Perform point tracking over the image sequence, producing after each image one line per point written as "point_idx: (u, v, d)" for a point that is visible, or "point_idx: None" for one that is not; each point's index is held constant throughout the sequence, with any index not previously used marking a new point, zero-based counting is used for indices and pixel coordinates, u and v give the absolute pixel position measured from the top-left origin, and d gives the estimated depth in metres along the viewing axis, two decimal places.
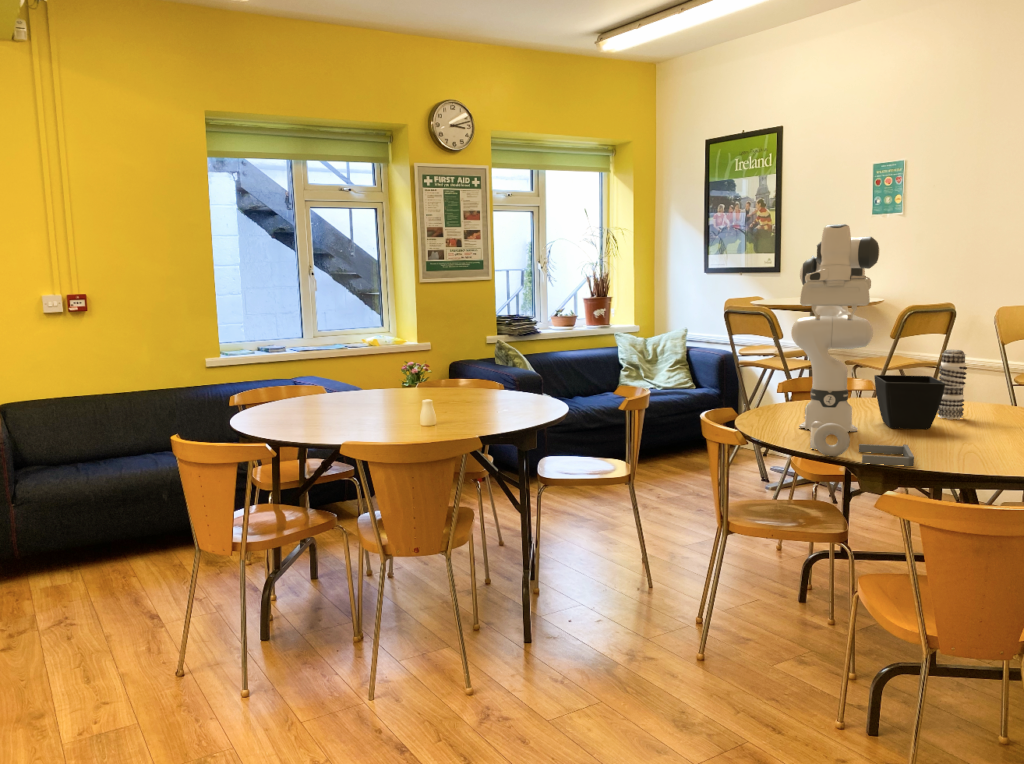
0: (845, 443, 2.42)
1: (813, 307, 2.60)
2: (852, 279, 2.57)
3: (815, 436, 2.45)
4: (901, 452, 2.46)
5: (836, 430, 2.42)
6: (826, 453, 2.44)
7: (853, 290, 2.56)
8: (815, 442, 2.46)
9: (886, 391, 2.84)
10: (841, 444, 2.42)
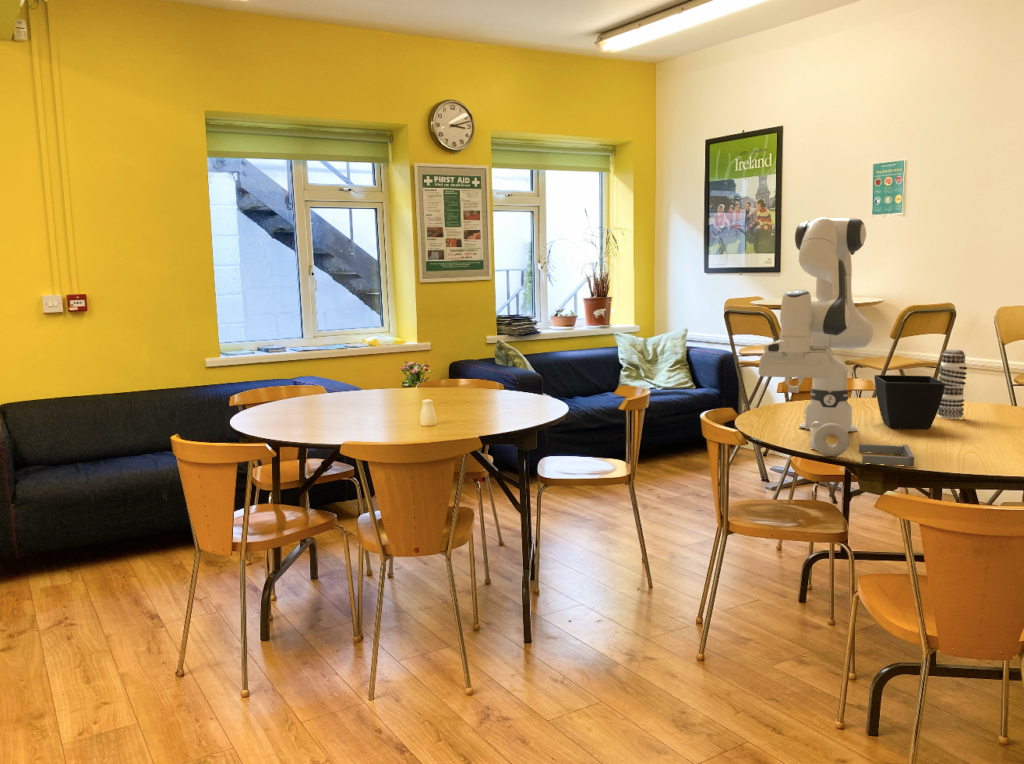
0: (845, 443, 2.42)
1: (786, 379, 2.46)
2: (813, 350, 2.43)
3: (815, 436, 2.45)
4: (901, 452, 2.46)
5: (836, 430, 2.42)
6: (826, 453, 2.44)
7: (813, 363, 2.42)
8: (815, 442, 2.46)
9: (886, 391, 2.84)
10: (841, 444, 2.42)
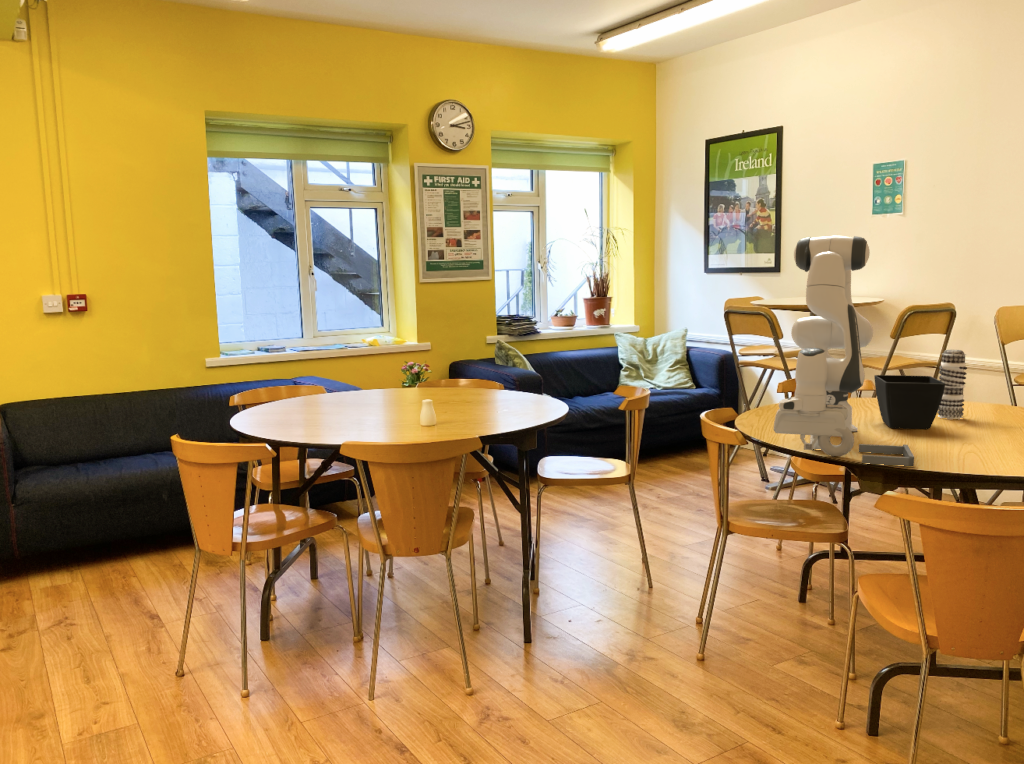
0: (849, 443, 2.41)
1: (801, 436, 2.47)
2: (828, 408, 2.44)
3: (819, 436, 2.45)
4: (901, 452, 2.46)
5: (841, 430, 2.42)
6: (830, 453, 2.44)
7: (829, 421, 2.43)
8: (819, 442, 2.45)
9: (886, 391, 2.84)
10: (845, 444, 2.42)
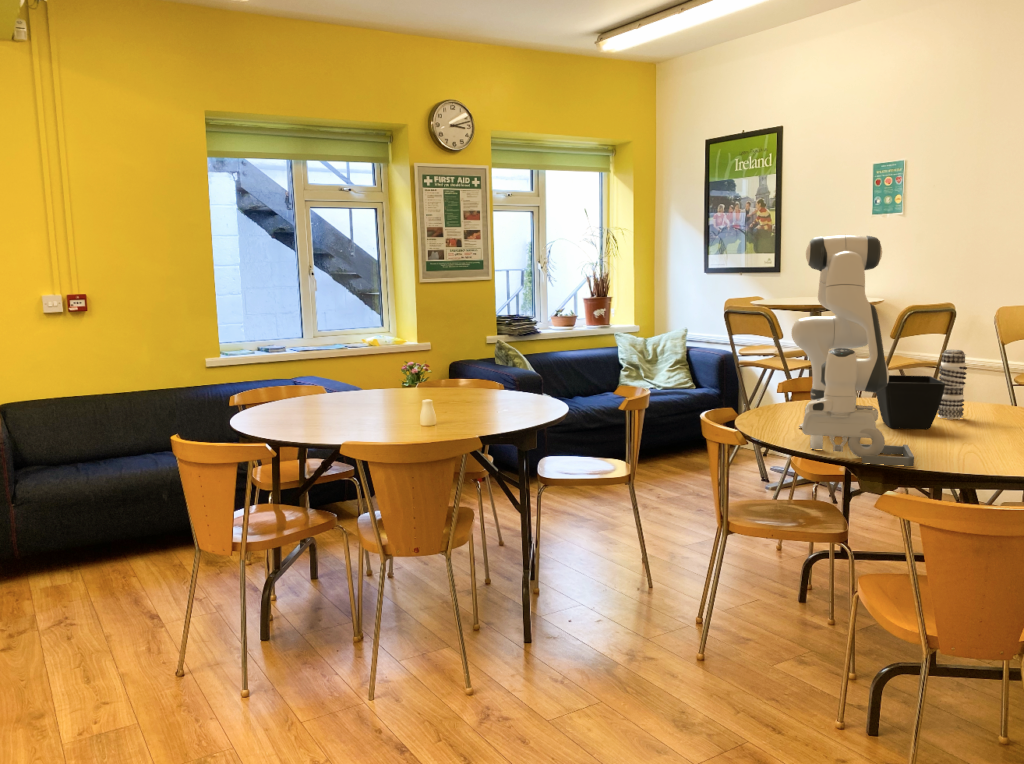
0: (880, 445, 2.38)
1: (831, 438, 2.44)
2: (858, 409, 2.41)
3: (849, 438, 2.42)
4: (901, 452, 2.46)
5: (871, 431, 2.39)
6: (860, 455, 2.41)
7: (859, 422, 2.40)
8: (849, 444, 2.42)
9: (886, 391, 2.84)
10: (876, 446, 2.39)
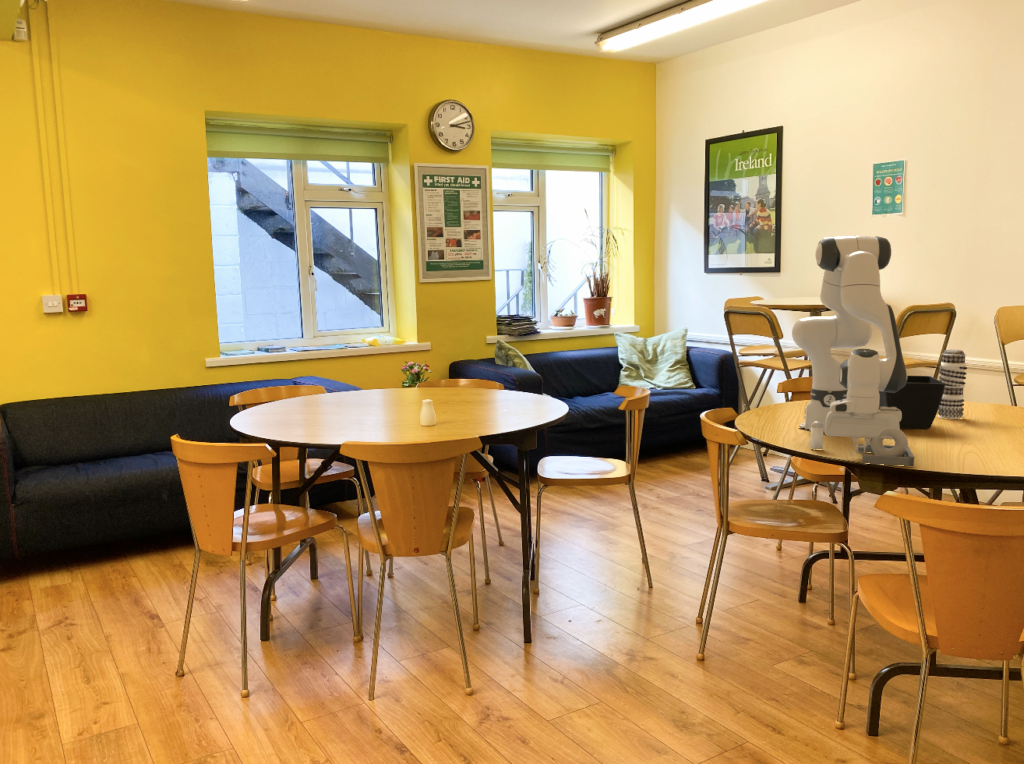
0: (903, 447, 2.36)
1: (854, 439, 2.42)
2: (881, 410, 2.39)
3: (871, 439, 2.40)
4: None
5: (894, 433, 2.37)
6: None
7: (882, 423, 2.38)
8: (871, 445, 2.40)
9: None
10: (898, 447, 2.36)
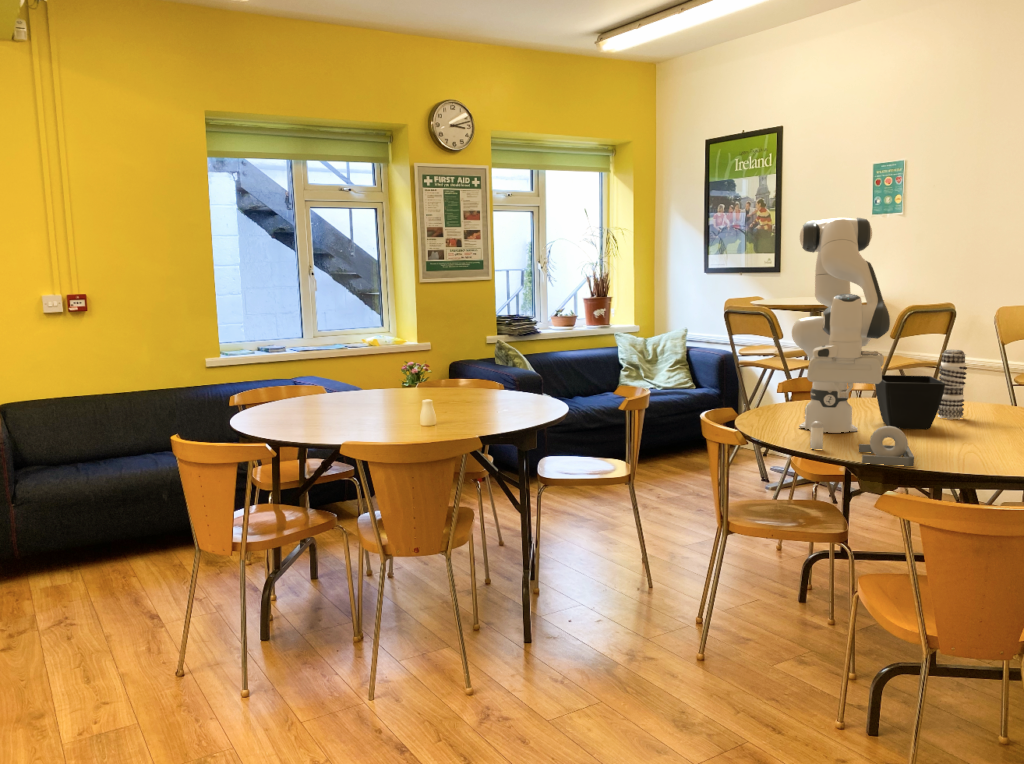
0: (903, 447, 2.36)
1: (836, 384, 2.42)
2: (863, 355, 2.39)
3: (871, 439, 2.40)
4: None
5: (894, 433, 2.37)
6: None
7: (864, 368, 2.39)
8: (871, 445, 2.40)
9: (886, 391, 2.84)
10: (898, 447, 2.36)
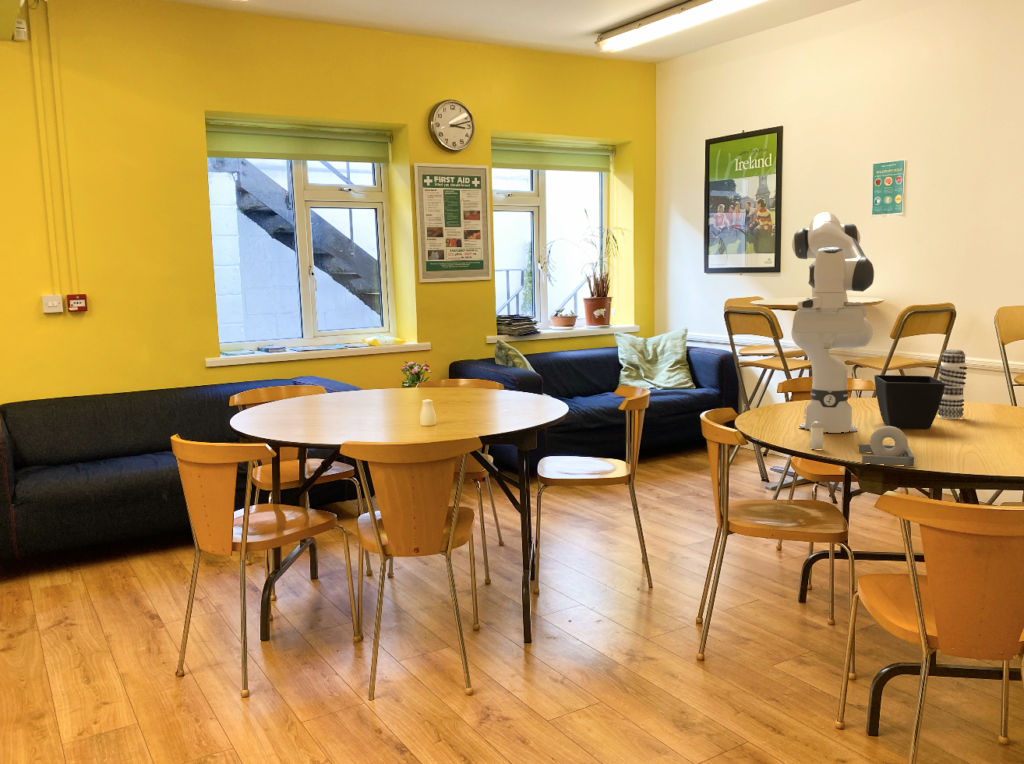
0: (903, 447, 2.36)
1: (820, 335, 2.49)
2: (846, 306, 2.46)
3: (871, 439, 2.40)
4: None
5: (894, 433, 2.37)
6: None
7: (847, 318, 2.45)
8: (871, 445, 2.40)
9: (886, 391, 2.84)
10: (898, 447, 2.36)
